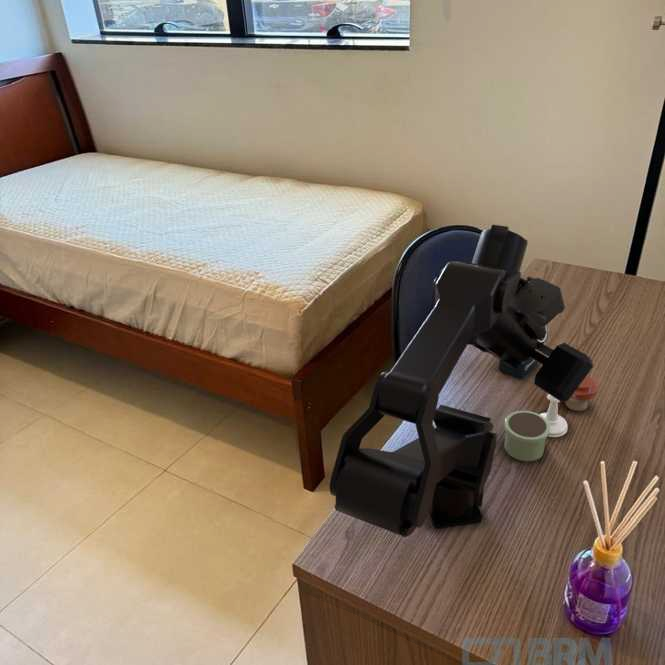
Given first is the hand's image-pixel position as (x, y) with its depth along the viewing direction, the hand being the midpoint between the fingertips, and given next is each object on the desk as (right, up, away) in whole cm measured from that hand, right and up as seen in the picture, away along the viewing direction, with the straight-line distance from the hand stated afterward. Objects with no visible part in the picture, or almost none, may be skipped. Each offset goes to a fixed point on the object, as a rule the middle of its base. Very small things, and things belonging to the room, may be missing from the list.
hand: (545, 369), depth 84 cm
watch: (+3, -1, +21) cm, 22 cm away
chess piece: (+4, -9, +8) cm, 13 cm away
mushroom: (+9, -6, +12) cm, 16 cm away
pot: (-1, -12, +5) cm, 13 cm away
